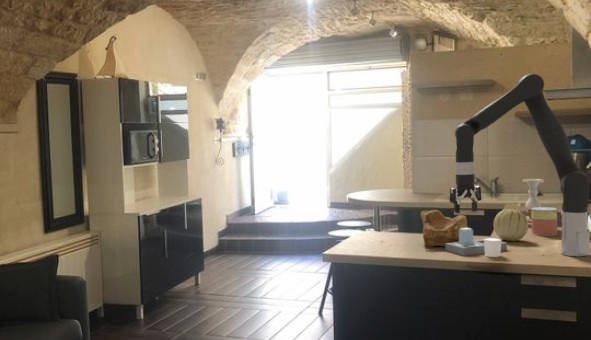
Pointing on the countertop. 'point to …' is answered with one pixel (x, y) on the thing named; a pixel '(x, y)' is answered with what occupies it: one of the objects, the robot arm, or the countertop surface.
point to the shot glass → (492, 247)
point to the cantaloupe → (510, 224)
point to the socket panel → (470, 247)
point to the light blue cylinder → (466, 236)
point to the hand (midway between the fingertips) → (466, 212)
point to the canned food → (544, 221)
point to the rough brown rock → (441, 228)
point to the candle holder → (532, 198)
